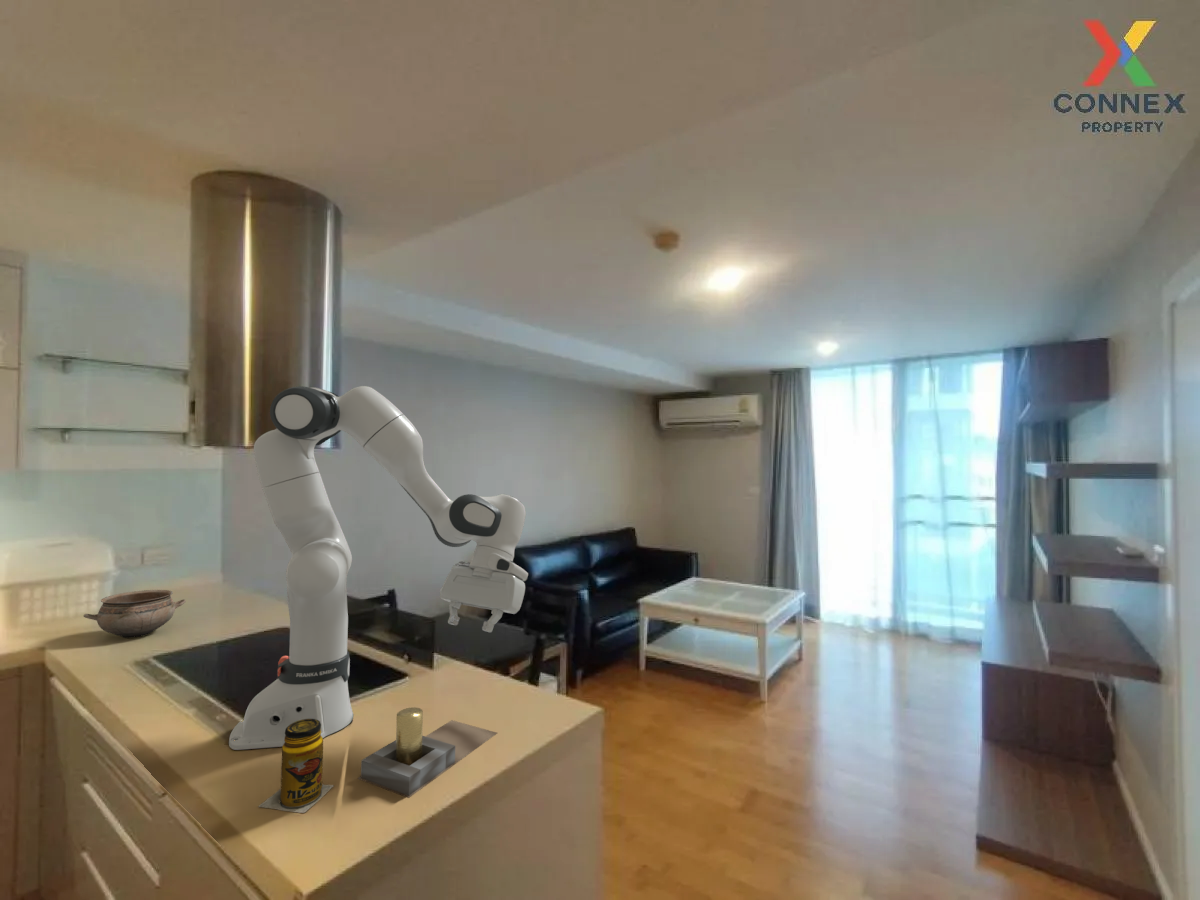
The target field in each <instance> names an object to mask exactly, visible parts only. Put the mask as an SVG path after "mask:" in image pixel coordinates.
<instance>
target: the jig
mask: <svg viewBox="0 0 1200 900" xmlns="http://www.w3.org/2000/svg"><path fill="white" fill-rule="evenodd" d="M497 734H498V732H495V731H492V730H489V729H485V728H482V727H478V726H474V725H470V724H467V723H465V722H460V721H457V720H453V719H451V720H450V721H448V722H446V723H444V724H443V725H442V726H439V727H438V728H436V729H435V730H433V731H431V732H430V733H428V734H427V735H422V758H420V759H419V760H417V761H416V762H414V763H413V764H411V765H410V766H409V765H406V764H403V763H400V762H397V761H396V740H394V741H392V742H390V743H388V744H386V745H384V746H383V747H381V748H379V749H378V750H376V751H374V752H373V753H371V754H369V755H368V756H366V757H365V758H363V759H361V760H360V761H361V762H360V764H361V765H360V776H359V777H358V778H356V779H358V780H360V781H363V782H366V783H369V784H370V785H372V786H376V787H379V788H382V789H385V791H386V790H387V791H389V792H392V793H395V794H397V795H400V796H403V797H405V798H407V799H410V798H412V797H413V796H414V795H415V794H416V793H418V792H420V791H421V790H422V789H423V788H425V787H426V786H427V785H429V784H430V783H432V782H433V781H434V780H436V779H437V778H438V777H440V776H441V775H443V774H444V773H445V772H447V771H448V770H449V769H451V768H452V767H453V766H455V765H456V764H458V763H459V762H461V761H462V760H463V759H464V758H466V757H467V756H468V755H470V754H471V753H473V752H474V751H475V750H477V749H478V748H479V747H481V746H482V745H483V744H486V742H488V741H489V740H491V738H493V737H494V736H496V735H497Z"/></svg>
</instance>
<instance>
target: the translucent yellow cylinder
mask: <svg viewBox="0 0 1200 900" xmlns="http://www.w3.org/2000/svg"><path fill="white" fill-rule="evenodd" d="M423 711H424V710H423V709H421V708H420V707H415V706H414V707H408V708H404V709H401V710H399V711H398V712H397V713H396V725H395V726H396V727H395V728H396V731H395V732H396V733H395V734H396V736H395V739H396V761H397V762H400V763H403V764H406V765H409V766H410V765H411V764H413V763H414V762H416V761H417V760H419V759H420V758H422V736H423V721H424V720H423V718H424V717H423V715H424V714H423V713H424V712H423Z"/></svg>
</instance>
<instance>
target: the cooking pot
mask: <svg viewBox="0 0 1200 900" xmlns="http://www.w3.org/2000/svg"><path fill="white" fill-rule="evenodd" d="M171 595H173V591H172V590H168V589H147V590H137V591H135V590H134V591H128V592H123V593H117V594H113V595H112V594H111V595H109V596H108V595H107V596H106V597H103V598H101V599H100V602H101V603H102V604H101V606H100V608H99V610H98V613H97V614H95V613H94V614H91V613H84V614H83V617H84V618H86V619H88V620H93V621H96V622H97V625H98V627H99V628H100V629H101V630H103V631H105V632H107V633H109V634H112V635H116V636H118V637H122V638H125V639H126V638H127V639H130V638H138V637H139V638H140V637H143V636H144V637H145V636H147V635H150V634H151V633H152V632H154V631H156V630H157V629H160V627H161V628H162V626H164V625H166V624H167V623H168V622H169V621H170V620H171V619H172V617H173V616H174V613H175V611H176V609H178V608H179V607H181V606H182V605H184V604H185V603H186V602H187V600H186V599H180V600H177V601H174V600H173V597H172V596H171Z"/></svg>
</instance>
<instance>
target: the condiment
mask: <svg viewBox="0 0 1200 900" xmlns="http://www.w3.org/2000/svg"><path fill="white" fill-rule="evenodd" d="M284 741H285V743H284V744H283V746H281V747H282V748H281V767H280V769H281V770H280V771H281V772H280V773H281V774H280V775H281V777H280V789H278V790H277V791H276V792H274V793H273V794H272V795H271V796H270V797H268V798H267V799H266V800H265V801H263V802H262V803H260V804H259V805H258V806H257V808H264V809H273V810H274V809H275V810H279V811H282V812H283V811H284V812H292V813H298V814H299V813H301V814H304V813H306V812H307V811H308V810H310V809H311V808H312V807H313V806H315V804H316V803H318V802H319V801H320V800H321V799H322V798H323V797H324V796H325V795H326V794H328V792H329V791H330V790H331V789H332V788H334V787H335V785H334V784H324V783H323V774H324V773H323V770H324V767H323V766H324V764H323V762H324V760H323V759H324V754H323V753H324V738H322V736H321V723H320V721H319V720H316V719H303V720H299V721H296V722H294V723H292V724H290V725H289V726H288V727H287V728H286V730H285V739H284Z"/></svg>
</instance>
